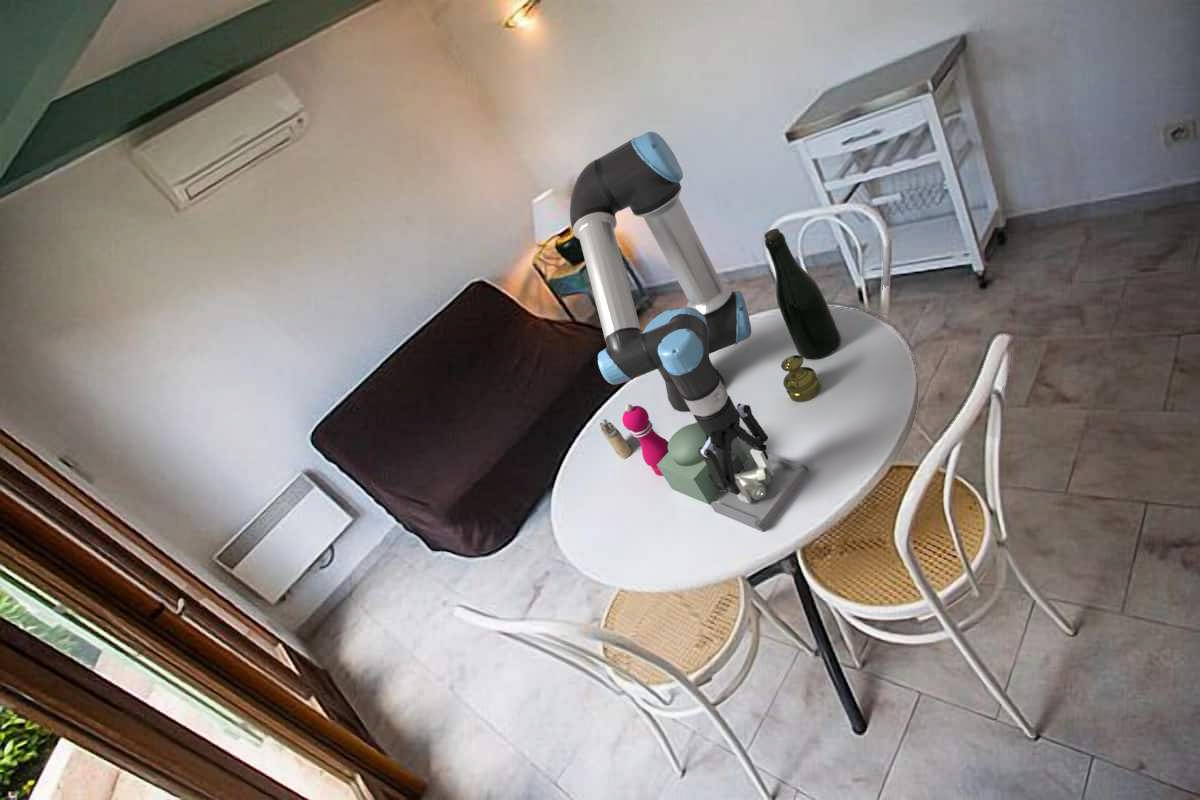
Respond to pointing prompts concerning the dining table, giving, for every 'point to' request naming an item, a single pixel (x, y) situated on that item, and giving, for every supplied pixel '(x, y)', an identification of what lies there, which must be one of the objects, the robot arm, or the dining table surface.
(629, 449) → the tan cylindrical piece
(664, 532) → the dining table surface
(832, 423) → the dining table surface
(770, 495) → the tray
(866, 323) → the dining table surface
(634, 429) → the pepper mill
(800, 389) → the brass rounded piece
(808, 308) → the dark green wine bottle
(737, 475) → the pipe fitting
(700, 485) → the mower housing
